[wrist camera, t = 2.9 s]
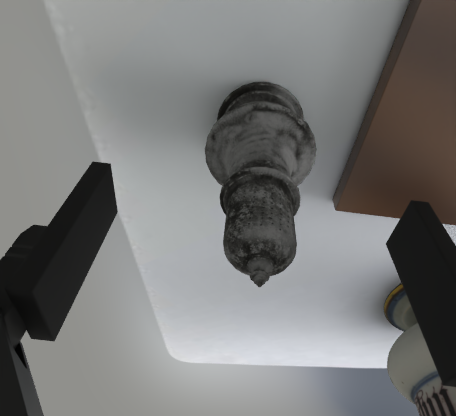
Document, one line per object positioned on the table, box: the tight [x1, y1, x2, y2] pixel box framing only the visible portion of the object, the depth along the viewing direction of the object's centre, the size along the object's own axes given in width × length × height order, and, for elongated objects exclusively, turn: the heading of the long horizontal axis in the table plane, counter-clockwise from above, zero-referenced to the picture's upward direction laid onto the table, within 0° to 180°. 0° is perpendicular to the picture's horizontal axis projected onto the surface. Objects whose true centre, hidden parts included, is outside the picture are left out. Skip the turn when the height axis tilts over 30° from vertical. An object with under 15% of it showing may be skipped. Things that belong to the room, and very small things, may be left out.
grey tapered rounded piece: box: [205, 82, 316, 287], centre depth 16 cm, size 6×6×12 cm
